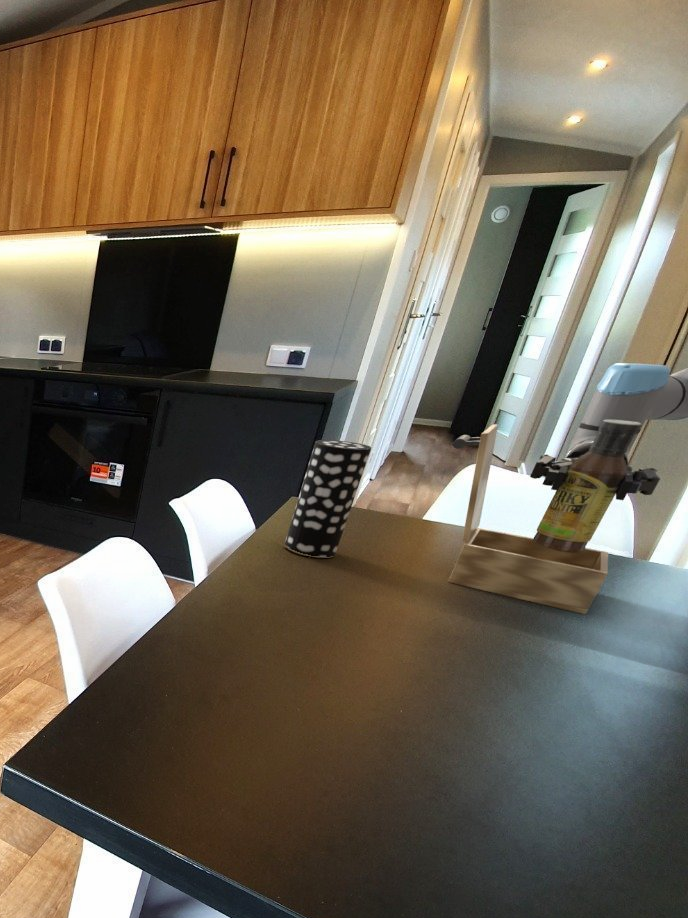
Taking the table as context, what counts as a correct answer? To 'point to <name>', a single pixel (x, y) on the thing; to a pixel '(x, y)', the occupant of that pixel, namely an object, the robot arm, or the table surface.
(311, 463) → the white-spotted black cylinder
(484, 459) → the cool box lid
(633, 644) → the table surface
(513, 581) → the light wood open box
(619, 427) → the sauce bottle
